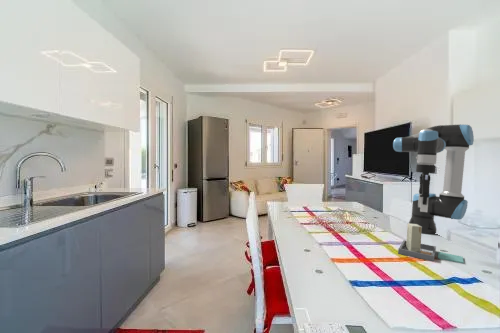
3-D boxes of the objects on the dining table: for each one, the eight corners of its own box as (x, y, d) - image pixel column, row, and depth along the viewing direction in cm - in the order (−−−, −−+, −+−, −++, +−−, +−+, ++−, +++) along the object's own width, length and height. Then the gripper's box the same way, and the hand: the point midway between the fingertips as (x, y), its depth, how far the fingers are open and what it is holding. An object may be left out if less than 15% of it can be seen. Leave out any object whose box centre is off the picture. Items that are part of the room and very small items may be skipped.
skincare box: (420, 253, 128) (422, 227, 128) (410, 251, 129) (412, 226, 128) (415, 248, 134) (417, 223, 134) (405, 247, 135) (407, 222, 135)
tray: (403, 244, 140) (403, 240, 140) (435, 251, 132) (436, 246, 132) (398, 253, 126) (398, 248, 126) (433, 261, 118) (434, 256, 118)
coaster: (438, 252, 129) (438, 251, 129) (462, 257, 124) (462, 256, 124) (437, 258, 122) (437, 256, 122) (463, 263, 117) (463, 262, 117)
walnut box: (420, 255, 126) (420, 250, 126) (431, 257, 124) (431, 252, 124) (419, 258, 122) (420, 253, 122) (430, 260, 120) (430, 255, 120)
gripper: (415, 163, 141) (411, 204, 142) (418, 163, 119) (414, 212, 120) (432, 164, 137) (429, 206, 138) (439, 164, 115) (435, 215, 116)
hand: (422, 209), depth 129 cm, fingers open, 13 cm apart
